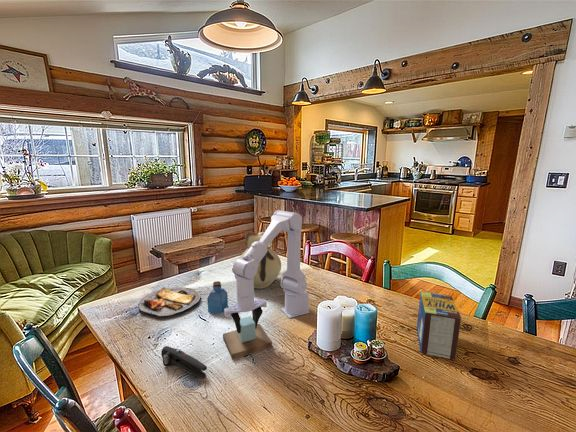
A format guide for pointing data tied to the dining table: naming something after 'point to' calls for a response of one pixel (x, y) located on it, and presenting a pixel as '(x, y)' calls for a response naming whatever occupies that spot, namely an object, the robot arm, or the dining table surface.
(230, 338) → the walnut block
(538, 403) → the dining table surface
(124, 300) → the dining table surface
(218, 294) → the perfume bottle
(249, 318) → the blue block
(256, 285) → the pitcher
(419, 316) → the protein box
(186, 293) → the food plate
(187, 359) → the can opener
